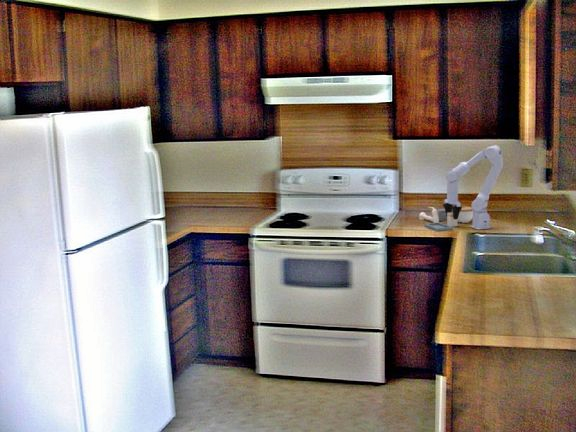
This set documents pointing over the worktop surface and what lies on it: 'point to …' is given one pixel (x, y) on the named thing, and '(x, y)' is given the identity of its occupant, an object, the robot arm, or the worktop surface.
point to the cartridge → (451, 220)
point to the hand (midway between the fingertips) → (452, 217)
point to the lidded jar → (465, 214)
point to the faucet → (433, 218)
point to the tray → (438, 226)
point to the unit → (442, 214)
